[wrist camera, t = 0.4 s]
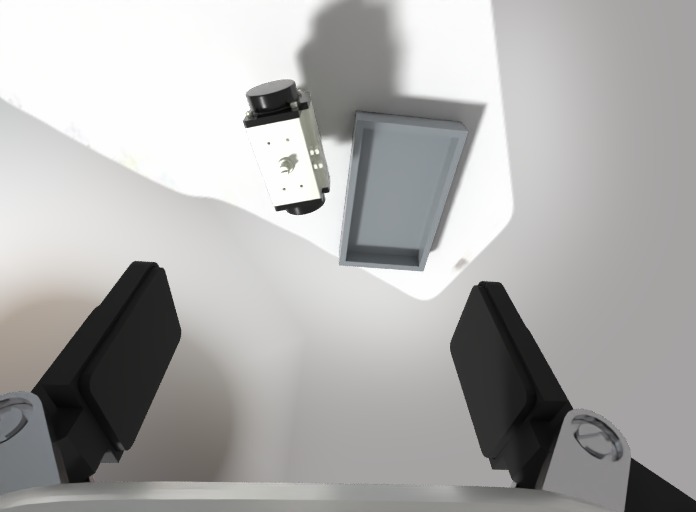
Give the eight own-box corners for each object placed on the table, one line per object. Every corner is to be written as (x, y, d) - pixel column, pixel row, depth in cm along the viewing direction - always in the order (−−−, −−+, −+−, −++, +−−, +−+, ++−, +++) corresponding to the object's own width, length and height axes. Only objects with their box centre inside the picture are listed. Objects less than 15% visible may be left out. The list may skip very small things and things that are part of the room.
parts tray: (355, 110, 39) (356, 119, 37) (461, 122, 40) (468, 131, 38) (339, 251, 52) (339, 265, 50) (419, 257, 53) (423, 271, 51)
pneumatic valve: (291, 174, 44) (278, 229, 35) (259, 72, 37) (232, 107, 28) (335, 166, 44) (334, 220, 34) (312, 60, 36) (302, 93, 27)
